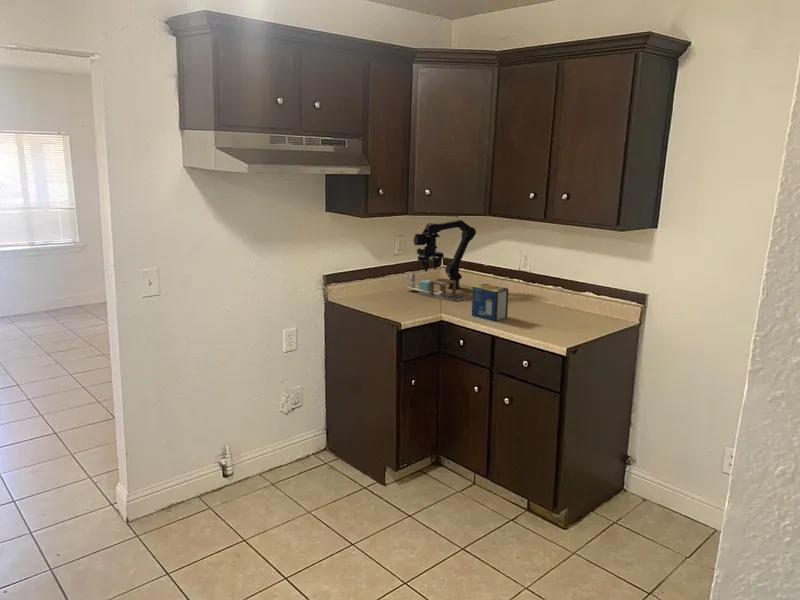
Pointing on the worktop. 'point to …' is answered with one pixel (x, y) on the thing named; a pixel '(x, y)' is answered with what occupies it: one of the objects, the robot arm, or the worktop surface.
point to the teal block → (424, 285)
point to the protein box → (490, 302)
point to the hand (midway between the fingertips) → (430, 270)
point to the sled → (416, 288)
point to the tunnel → (444, 290)
